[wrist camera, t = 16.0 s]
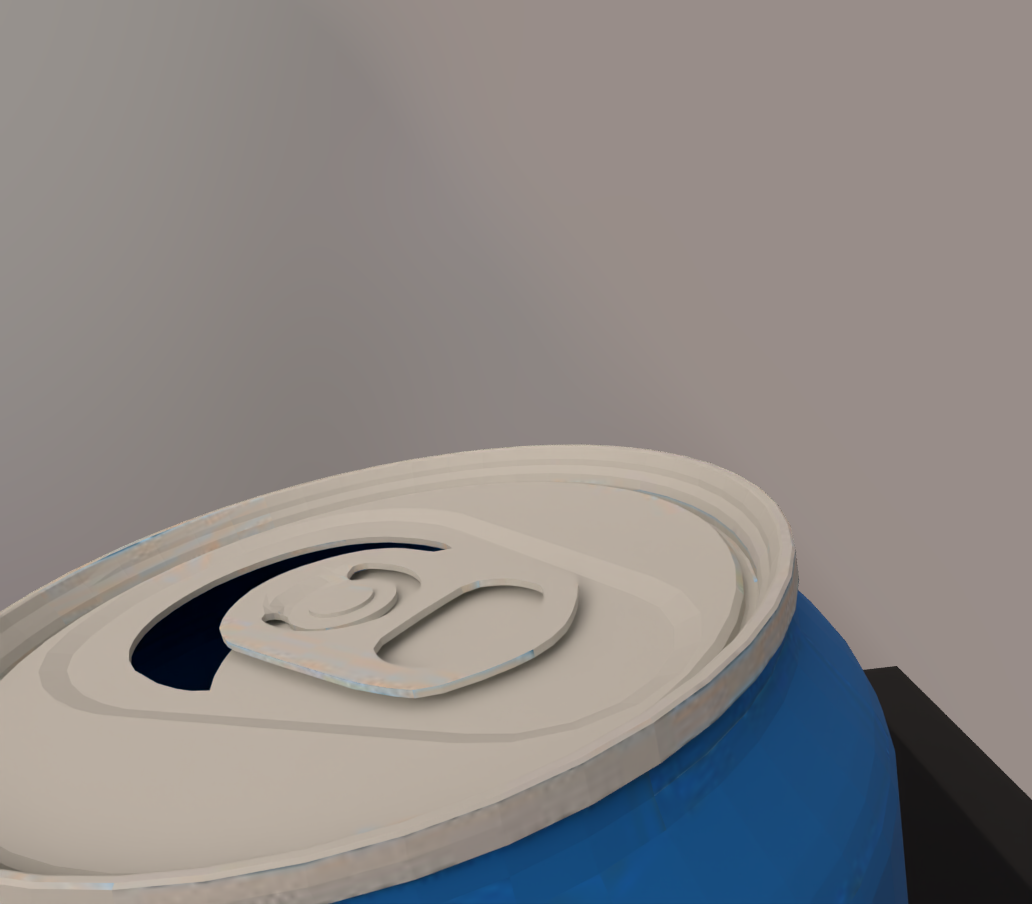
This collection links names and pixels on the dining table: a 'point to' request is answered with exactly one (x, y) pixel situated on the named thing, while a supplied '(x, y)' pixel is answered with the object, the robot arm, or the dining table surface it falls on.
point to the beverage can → (449, 700)
